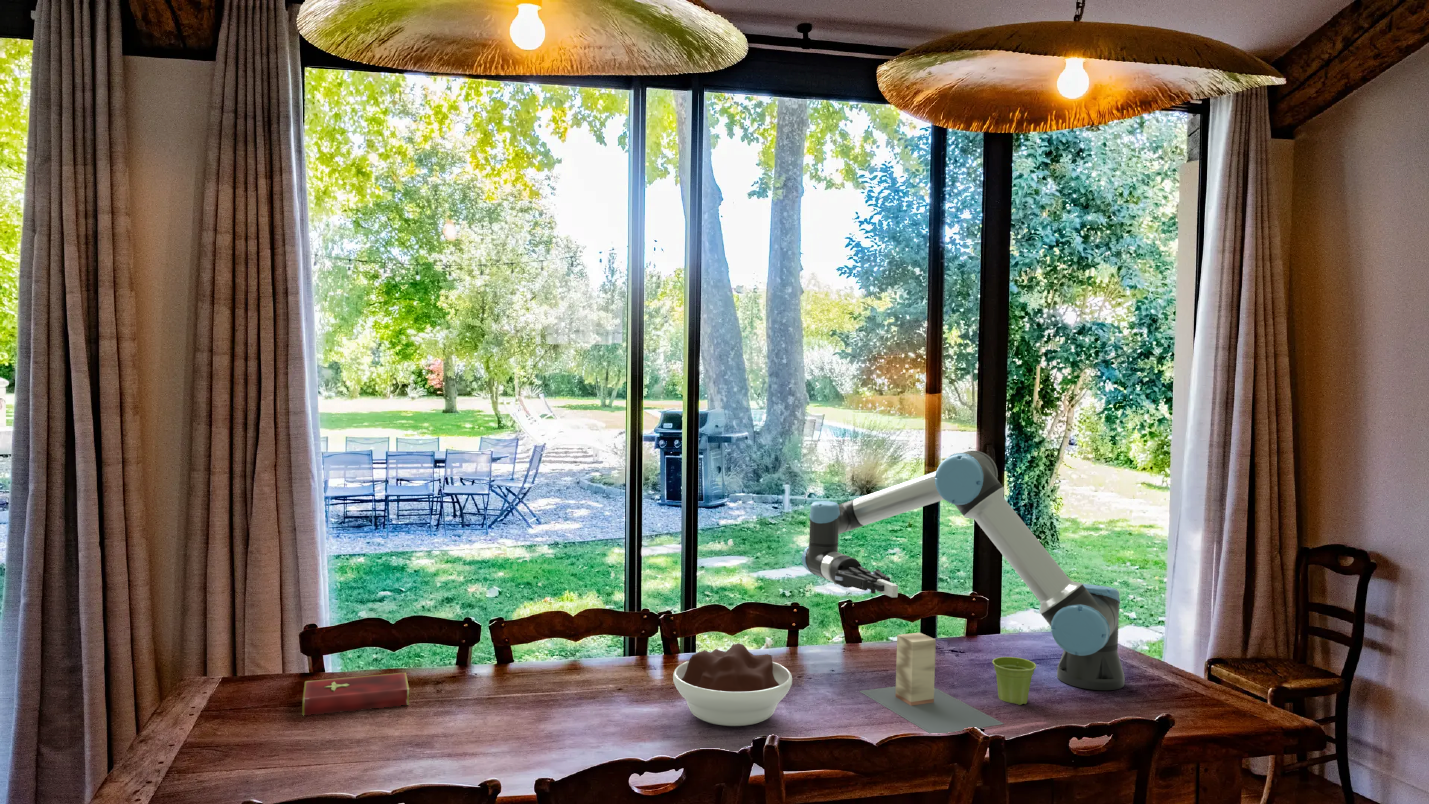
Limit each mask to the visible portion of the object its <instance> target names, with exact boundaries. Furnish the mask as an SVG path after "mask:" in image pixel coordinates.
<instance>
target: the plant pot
mask: <svg viewBox="0 0 1429 804" xmlns="http://www.w3.org/2000/svg"><path fill="white" fill-rule="evenodd" d="M991 662H992V664H993V666H994V671H995V676H996V684H997V695H998V696H997V697H998V699H999V700H1001V701H1002V702H1006V703H1010V704H1016V705H1019V706H1022V705H1023V704H1024V705H1026V704H1027V703H1028V699H1029V693H1030V688H1031V682H1032V677H1033V675H1034V672H1035V670H1036V668H1037V664H1036V663H1035V662H1033V661H1031V660H1029V659H1025V658H1021V657H1014V656H1012V657H1011V656H999V657H996V658H994V659H992V661H991Z"/></svg>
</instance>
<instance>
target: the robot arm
mask: <svg viewBox="0 0 1429 804" xmlns="http://www.w3.org/2000/svg"><path fill="white" fill-rule="evenodd" d="M998 474H999V473H998V468H997V465H996V463H995V461H994V460H993V458H992V457H991V456H990V455H988V454H986V453H985V452H982V451H979V450H967V451H963V452H956V453H953V454H951V455H950V456H948V457H945V459H944V460H942V461H941V462H940V464H939V465H938V467H937V469H936V471H932V472H929V473H925V474H923V475H920V476H918V477H915V478H912V479H909V480H906V481H903V482H901V483H897V484H895V485H892V486H888V487H886V488H883V489H880V490H878V491H874V492H871V493H869V494H865V495H863V496H860V497H857V498H854V499H851V500H849V501H844V502H842V503H839V504H838V503H837V502H835V501H829V500H819V501H818V500H817V501H813V502H811V504H810V512H809V538H808V539H809V540H808V541H809V542H808V546H807V547H806V548H805V549H804V551H803V552H802V555H801V562H802V565H803V568H804V569H805V570H806V571H808V572H810V573H811V574H813V576H817V577H820V578H823V579H825V580H827V581H829V582H832V583H833V584H834V585H838V586H841V587H843V588H847V589H849V588H855V589H859V590H861V591H864V592H865V591H868V590H870V594H872V595H874V594H876V592H878V593H881V594H883V595H885V596H887V597H890V598H898V595H899V585H897V584H895V583H893V582H892V581H891V577H890V576H888V575H886V574H885V573H883V572H881V569H877V568H876V569H875V570H873V571H870V570H869V569H867V568H865V567H863V566H862V565H861V563H860V561H859V560H858V559H856V558H854V557H851V556H848V555H847V554H843V553H841V552H838V551H839V535H841V534H843V533H847V532H850V531H853V530H855V529H858V528H861V527H864V526H867V525H870V524H874V523H876V522H879V521H882V520H886V519H889V518H892V517H894V516H898V515H900V514H904V513H907V512H910V511H913V510H917V509H920V508H923V507H925V506H929V505H932V504H936V503H938V502H941V501H943V500H944V501H945V502H947V503H949V504H951V505H954V507H956V508H957V510H958V511H959V512H960V513H961V515H962V516H963V517H964V518H967V519H972V520H974V521H975V522H976V523H977V525H978V526H979V527H980V529H982V531H983V532H984V534H985V535H986V536H987V537H988V538H989V540H990V541H991V542H992V544H993V545H994V546H995V547H996V549H997V550H998V551H999V552H1000V554H1001V555H1002V556H1003V558H1004V559H1005V560H1006V561H1007V563H1008V564H1009V566H1010V567H1011V568H1012V569H1013V570H1014V571H1015V572H1016V574H1017V575H1018V576H1019V577H1020V579H1021V580H1022V582H1024V584H1025V585H1026V586H1027V588H1028V589H1029V590H1030V591H1031V593H1032V594H1033V595H1034V596H1035V597H1036V599H1037V600H1038V601H1039V604H1040V605H1039V606H1040V608H1039V609H1040V610H1039V613H1040V615H1041V616H1042V617H1043V619H1044V620H1045V621H1046V622H1047V623H1048V625H1049V626H1050V632H1051V635H1052V638H1053V640H1054V641H1055V643H1056V644H1057V645H1058V647H1059V648H1060V649H1062V650H1063V652H1062V654H1061V656H1060V660H1059V662H1058V664H1057V667H1056V668H1057V669H1056V677H1057V679H1058V680H1059V681H1061V682H1062V683H1065V684H1068V685H1069V686H1071V687H1072V686H1073V687H1077V688H1081V689H1086V690H1094V691H1112V690H1113V691H1114V690H1119V689H1122V688H1123V687H1124V686H1125V673H1124V669H1123V666H1122V662H1121V659H1120V655H1119V651H1118V650H1119V649H1118V646H1119V620H1120V619H1119V618H1120V604H1121V600H1120V592H1119V590H1117V589H1116V588H1114V587H1111V586H1106V585H1098V584H1097V585H1096V584H1090V583H1089V584H1088V583H1082V582H1079V581H1073V580H1071V579H1070V577H1069V576H1068V575H1067V574H1066V573H1065V572H1064V570H1063V569H1062V567H1060V565H1059V564H1058V562H1057V561H1056V560H1055V559H1054V558H1053V557H1052V555H1051V554H1050V553H1049V552H1048V550H1047V549H1046V547H1044V546H1043V544H1042V543H1041V542H1040V541H1039V539H1038V538H1037V537H1036V536H1035V535H1034V533H1033V532H1032V531H1031V529H1030V528H1029V527H1028V525H1026V523H1025V522H1024V521H1023V519H1022V518H1021V517H1020V516H1019V515H1018V513H1016V511H1015V510H1014V509H1013V508H1012V506H1011V505H1010V504H1009V502H1008V501H1007V500H1006V499H1005V497H1004V493H1005V487H1004V486H1003V485H1002V484H1001V483H1000V481H999V480H998V477H999V475H998Z"/></svg>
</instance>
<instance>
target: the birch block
mask: <svg viewBox="0 0 1429 804" xmlns="http://www.w3.org/2000/svg"><path fill="white" fill-rule="evenodd" d="M936 644H937V642H936V639H935V638H933V637H931V636H929V635H926V634H924V633H922V632H912V633H903V634H902V633H901V634H897V635H896V664H895V686H896V695H895V697H897V698H898V699H900V700H902V701H904V702H906V703H907V704H909V705H911V706H912V705H919V704H926V703H933V702H934V687H935V681H936V680H935V679H936V678H935V676H936V675H935V673H936V671H935V669H936Z"/></svg>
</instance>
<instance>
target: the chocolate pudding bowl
mask: <svg viewBox="0 0 1429 804" xmlns="http://www.w3.org/2000/svg"><path fill="white" fill-rule="evenodd" d="M772 658H773V657H772V655H770V654H768V653H766V654H759V655H755V654H753V653H751V652H750V651H749V650H748V649H747V647H746V646H745V645H744V644H742V643H735V644H734V643H732V645H731V646H730V647H729V649H727V651H722V650H719V649H717V648H715V649H714V650H713V651H711V652H709V651H708V650H706V649H704V650H702V651H698V652H697V653H694V654H692V655H691V656H690V658H689V660H687V661H685V662H683V663H681V664H679V665H678V666H677V667H676V668H675V669H674V672H673V674H672V679H673V680H672V681H673V684H674V687H675V688H676V690H677V691H678V693H679V694H680V695H681V697H682V698H683V699H684V700H685V701H686V704H687V706H688V708H689V711H690V713H691V714H692V715H693V716H695V718H698V719H699V720H701V721H703V722H706V723H709V724H713V725H719V726H727V727H742V726H750V725H756V724H758V723H761V722H764V721H766V720H768V719H770V718H771V717H772V716H773V715H774V713H775V710H776V709H777V707H778V705H779V702H781V701H782V700H783V699H784V698H785V697H786V695H787V694H788V693H789V690H790V688H791V687H792V685H793V676H792V673H791V672H790V670H788V668H786V667H785V666H783V665H782V664H780V663H778V662H775V661H773V659H772Z"/></svg>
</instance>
